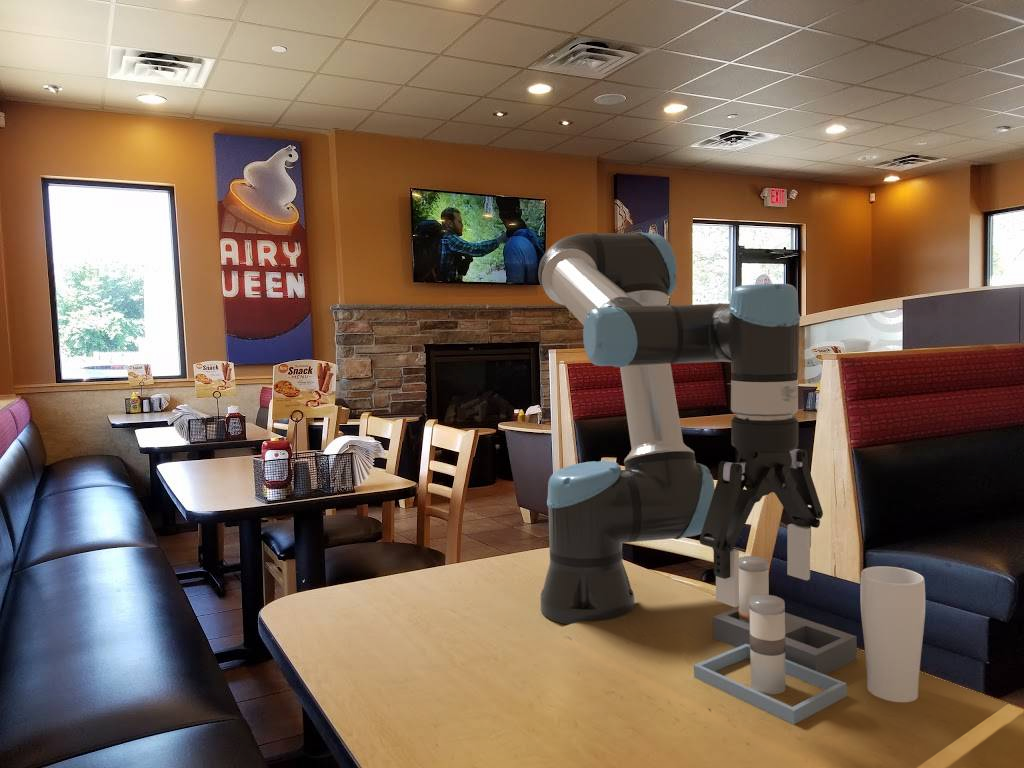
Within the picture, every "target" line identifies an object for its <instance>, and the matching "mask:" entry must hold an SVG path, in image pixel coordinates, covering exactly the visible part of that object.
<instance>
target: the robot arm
mask: <svg viewBox="0 0 1024 768" xmlns="http://www.w3.org/2000/svg"><path fill="white" fill-rule="evenodd" d="M677 265H678V264H677V260H676V256H675V252H674V249H673V248H672V246H671V244H670V243H669V242H668V240H667V238H665V237H663V236H662V235H661V234H658V233H650V232H642V231H634V232H623V233H620V232H619V233H618V232H617V233H615V232H614V233H613V232H610V233H603V232H602V233H599V232H598V233H590V232H585V233H575V234H572V235H569V236H568V235H567V236H566V237H563V238H561V239H559V240H558V241H556V242H555V243H553V244H552V245H551V246H550V247H549V248H548V249H547V250H545V253H544V254H543V256H542V258H541V259H540V261H539V266H538V272H537V273H538V275H537V276H538V277H537V278H538V281H539V284H540V287H541V289H542V290H543V292H544V293H545V294H546V295H547V296H548V298H549V299H550V300H552V302H554V303H555V304H558V305H562V306H564V307H566V308H567V309H568V311H569V312H570V313H572V315H573V316H574V317H575V318H576V320H578V322H579V323H580V324H582V326H583V329H582V330H583V331H582V333H583V335H582V337H583V338H582V339H583V347H584V351H585V352H586V353H585V354H586V357H587V360H588V361H589V362H590V363H591V364H593V365H594V366H597V367H598V366H599V367H613V368H619V370H620V377H621V384H622V391H623V398H624V405H625V412H626V419H627V426H628V427H627V428H628V434H629V441H630V447H631V450H630V451H629V454H627V456H626V457H625V458H624V461H623V463H624V469H622V468H621V467H620V465H619V463H618V462H616V461H610V460H599V461H595V460H593V461H585V462H579V463H576V464H571V465H568V466H565V467H562V468H559V469H558V470H556V471H555V472H553V473H552V474H551V475H550V477H549V479H548V482H547V484H548V485H547V500H546V506H547V509H548V511H547V513H548V536H549V537H548V542H549V565H548V569H547V572H546V577H545V579H544V585H543V589H542V590H541V593H540V597H539V598H540V612H541V613H542V615H543V616H545V617H546V618H548V620H551V621H553V622H556V623H560V624H563V625H573V624H575V623H579V622H600V621H601V622H603V621H608V620H615V619H618V618H620V617H623V616H626V615H627V614H629V613H630V612H632V611H633V610H634V608H635V593H634V592H633V590H632V586H631V582H630V580H629V576H628V573H627V571H626V568H625V566H624V562H623V544H624V543H636V542H637V543H638V542H646V541H647V542H648V541H650V542H651V541H660V540H661V541H662V540H671V539H673V540H680V539H683V538H687V537H688V538H689V537H695V536H698V535H700V536H699V544H701V545H703V546H707V547H709V548H712V551H713V574H714V576H715V601H717V602H719V603H722V604H725V605H728V606H730V607H733V608H738V607H739V558H740V552H739V551H740V550H738V549H735V545H736V543H737V541H738V539H739V538H740V535H741V534H742V531H743V529H744V527H745V525H746V522H747V521H748V519H749V516H750V515H751V512H752V510H753V508H754V506H755V504H756V503H758V502H760V501H761V500H762V498H763V497H765V496H768V495H770V494H771V493H774V494H775V496H776V497H777V499H778V501H779V502H780V504H781V505H782V507H783V508H784V510H785V512H786V514H787V515H788V516H789V518H790V520H791V521H792V523H789V524H787V529H786V530H787V539H786V540H787V543H786V544H787V545H786V546H787V549H786V551H787V553H786V554H787V556H786V557H787V563H786V564H787V571H786V572H787V576H791V577H793V578H797V579H800V580H804V581H809V580H810V579H811V546H812V545H811V544H812V541H811V540H812V539H811V538H812V528H814V529H815V528H816V529H818V528H819V527H820V525H821V519H822V518H823V517H824V516H823V515H824V511H823V508H822V505H821V502H820V499H819V496H818V493H817V489H816V486H815V484H814V483H815V482H814V481H813V478H812V473H811V471H810V468H809V456H808V454H809V453H808V451H807V450H806V449H800V448H798V447H799V420H798V419H797V417H795V416H794V414H797V412H798V411H799V390H798V389H799V381H798V380H799V361H800V360H799V357H800V355H799V354H800V321H801V315H800V312H799V296H798V295H799V293H798V290H797V288H796V287H795V286H794V285H792V284H788V283H760V284H758V283H757V284H746V285H745V284H744V285H738V286H736V287H735V288H733V290H732V291H731V294H730V301H729V302H730V303H721V302H718V303H705V304H702V303H701V304H681V305H680V304H677V305H671V304H670V305H668V303H669V300H670V299H669V297H670V296H671V295H672V294H673V293H674V291H675V289H676V286H677V282H678V277H677V276H676V274H677V273H678V266H677ZM716 362H717V363H719V362H721V363H722V362H724V363H726V362H727V363H730V367H731V368H730V369H731V372H730V373H731V374H730V376H731V377H730V378H731V380H730V411H731V412H732V413H733V414H735V416H733V417H732V419H731V422H730V423H731V428H730V429H731V433H730V434H731V438H730V439H731V442H730V443H731V446H732V447H734V449H735V450H736V451H737V453H738V455H737V461H736V462H729V461H723V460H721V461H720V462H719V463H718V468H717V480H716V484H715V481H714V478H713V475H712V474H711V470H710V469H709V468H708V466H706V465H704V464H702V463H698V462H697V461H696V456H695V451H694V450H693V449H692V448H690V447H689V446H687V445H686V444H685V443H684V439H683V433H682V432H683V431H682V428H681V422H680V415H679V409H678V404H677V403H678V402H677V398H676V397H677V396H676V390H675V383H674V379H673V378H674V377H673V371H672V366H671V364H689V363H691V364H692V363H716ZM744 488H745V489H744Z"/></svg>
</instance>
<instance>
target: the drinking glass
mask: <svg viewBox="0 0 1024 768" xmlns="http://www.w3.org/2000/svg"><path fill="white" fill-rule="evenodd" d="M859 588H860V589H859V590H860V592H859V593H860V614H861V615H860V617H861V625H862V635H863V636H862V637H863V643H864V645H863V646H864V656H865V657H864V658H865V665H866V677H867V679H866V681H867V683H866V687H867V690H868V692H870V693H871V695H873V696H875V697H877V698H880V699H882V700H885V701H888V702H894V703H910V702H914V701H916V700H917V699H918V698H919V682H920V679H919V678H920V670H921V661H922V660H921V659H922V651H923V639H924V632H925V631H924V630H925V619H926V583H925V577H924V576H923V575H922V574H920V573H918V572H916V571H914V570H911V569H906V568H902V567H896V566H887V565H886V566H879V565H878V566H870V567H869V566H868V567H866V568H864V569H862V570H861V572H860V587H859Z"/></svg>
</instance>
